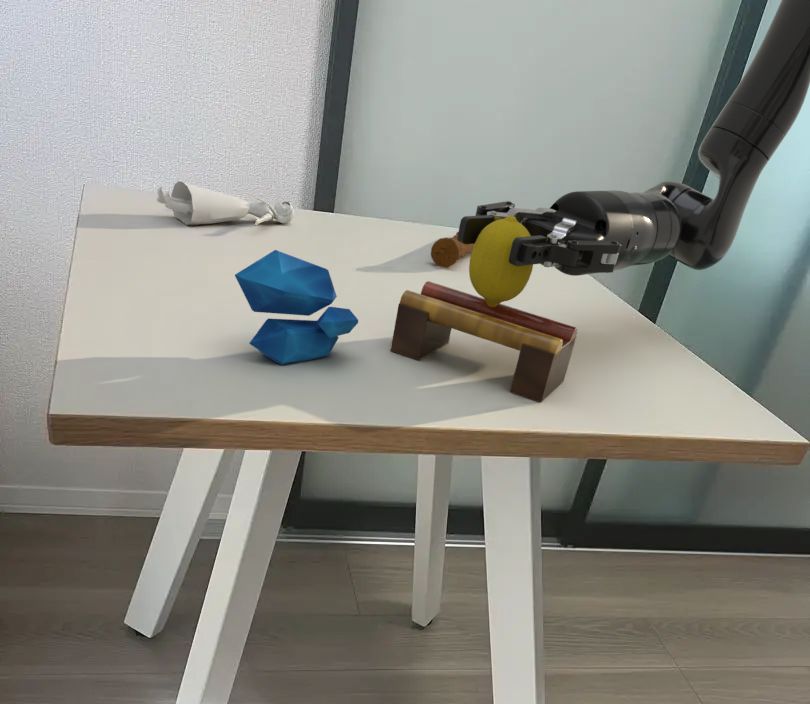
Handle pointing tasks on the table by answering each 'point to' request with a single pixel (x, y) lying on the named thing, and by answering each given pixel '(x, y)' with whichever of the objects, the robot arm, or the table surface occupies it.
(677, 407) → the table surface
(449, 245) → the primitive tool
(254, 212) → the woman figurine
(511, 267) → the lemon
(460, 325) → the rod rack
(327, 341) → the blue crystals
